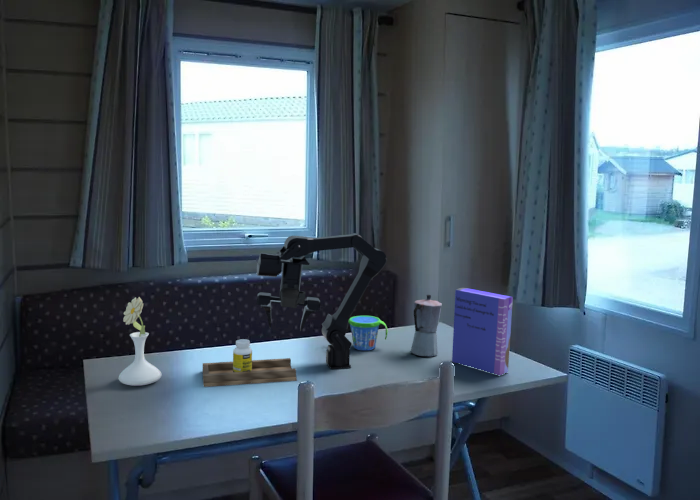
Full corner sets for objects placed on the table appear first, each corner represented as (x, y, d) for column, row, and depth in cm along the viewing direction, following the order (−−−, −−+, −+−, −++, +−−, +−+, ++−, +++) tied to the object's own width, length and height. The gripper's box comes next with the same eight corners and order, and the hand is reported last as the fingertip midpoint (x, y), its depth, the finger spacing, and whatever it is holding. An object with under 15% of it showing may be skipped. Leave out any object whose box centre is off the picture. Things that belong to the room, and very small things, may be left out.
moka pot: (446, 350, 204) (449, 293, 202) (427, 362, 192) (430, 301, 189) (421, 345, 209) (423, 289, 207) (400, 357, 197) (403, 297, 194)
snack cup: (338, 350, 202) (339, 321, 200) (345, 341, 212) (345, 313, 211) (384, 354, 199) (385, 324, 197) (388, 345, 209) (389, 317, 208)
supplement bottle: (243, 378, 171) (243, 344, 170) (229, 374, 174) (229, 341, 173) (255, 372, 176) (255, 340, 175) (241, 369, 179) (241, 337, 177)
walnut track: (289, 365, 185) (289, 357, 185) (296, 380, 173) (296, 371, 172) (202, 371, 179) (202, 362, 178) (203, 386, 166) (203, 377, 166)
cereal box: (507, 373, 184) (512, 296, 181) (499, 376, 181) (504, 298, 177) (460, 359, 196) (464, 287, 193) (451, 362, 193) (455, 288, 189)
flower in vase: (118, 377, 172) (115, 291, 168) (159, 373, 176) (158, 289, 173) (119, 393, 160) (116, 301, 156) (163, 388, 164) (162, 299, 161)
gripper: (258, 279, 170) (253, 333, 171) (324, 286, 172) (318, 339, 174) (260, 273, 181) (254, 324, 182) (321, 279, 183) (315, 329, 185)
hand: (285, 329), depth 180 cm, fingers open, 9 cm apart
